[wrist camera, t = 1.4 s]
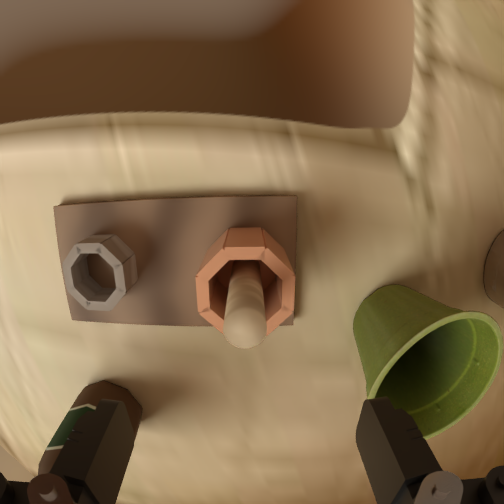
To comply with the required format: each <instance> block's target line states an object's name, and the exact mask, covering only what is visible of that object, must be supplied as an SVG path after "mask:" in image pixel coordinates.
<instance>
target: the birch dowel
mask: <svg viewBox="0 0 504 504" xmlns="http://www.w3.org/2000/svg"><path fill="white" fill-rule="evenodd" d="M223 333H224V336H225V338H226V340H227V341H228V342H229V343H230V344H231V345H233V346H235V347H238V348H242V349H248V348H253V347H255V346H257V345H259V344H260V343H261V342H262V341H263V340H264V338H265V337H266V334H267V324H266V316H265V307H264V298H263V289H262V280H261V271H260V264H259V262H258V260H234V262H233V264H232V270H231V277H230V283H229V290H228V297H227V304H226V311H225V318H224V325H223Z"/></svg>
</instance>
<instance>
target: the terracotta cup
mask: <svg viewBox="0 0 504 504" xmlns="http://www.w3.org/2000/svg"><path fill="white" fill-rule="evenodd" d="M234 260H258V262H259V264H260V271H261V280H262V289H263V298H264V307H265V316H266V324H267V334H266V336H267V335H268V334H270V333H271V332H272V331H273V330H274V329H275V328H276V327H278V326H279V325H280V324H281V323H282V322H283V321H284V320H285V319H287V318H288V317H289V316H290V315H291V314H292V313H293V312H292V311H294V296H295V274H294V272H293V269H292V267H291V264H290V262H289V259H288V257H287V255H286V252H285V250H284V248H283V247H282V246H281V245H280V244H279V243H278V242H277V241H276V240H274V239H273V238H272V237H271V236H270V235H269V234H268V233H267V232H266V231H265V230H264V229H263V228H262V229H261V227H249V228H230V230H229V229H227V230H226V231H225V232H224V233H223V234H222V235H221V236H220V237H219V238H218V240H217V241H216V242H215V243H214V244H213V245H212V246H211V247H210V248H209V249H208V250H207V252H206V254H205V256H204V259H203V261H202V263H201V265H200V268H199V270H198V272H197V274H196V277H195V279H196V293H197V306H198V312H200V313H199V314H200V315H201V316H202V317H203V318H204V319H206V320H207V321H208V322H209V323H210V324H212V325H213V326H214V327H215V328H216V329H218V330H219V331H220V332H221V333H222V334H224V333H223V325H224V318H225V311H226V304H227V297H228V290H229V283H230V277H231V270H232V264H233V262H234Z"/></svg>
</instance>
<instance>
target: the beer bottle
mask: <svg viewBox="0 0 504 504" xmlns="http://www.w3.org/2000/svg"><path fill="white" fill-rule="evenodd" d="M101 399H108V400H116V401H123V402H124V404H125V406H126V409H127V412H128V416H129V419H130V422H131V425H132V428H133V431H134V438H136V435H137V431H138V428H139V424H140V418H141V413H142V407H141V406H140V405H139V403H138V402H137V401H136V400H135V399H134V397H133V396H132V395H131V394H130V393H129V391H128V390H127V389H125V388H122V387H119V386H117V385H114V384H112V383H109V382H107V381H101V382H98V383H95V384H92V385H89V386H86V387H85V388H84V389H83V390H82V392H81V393H80V394H79V396H78V397H77V399H76V400H75V402H74V404H73V405H72V407H71V408H70V410H69V412H68V413H67V415H66V416H65V418H64V420H63V421H62V423H61V425H60V426H59V428H58V429H57V431H56V433H55V434H54V436H53V438H52V440H51V441H50V443H49V445H48V446H47V448H46V450H45V452H44V454H43V456H42V458H41V461H40V463H39V469H38V475H40V474H45V473H49V472H50V470H51V468H52V466H53V464H54V463H55V461H56V459H57V457H58V455H59V453H60V451H61V449H62V447H63V445H64V444H65V442H66V441H67V440H68V439H67V438H68V436H69V434H70V432H72V429H73V427H74V425H75V423H76V422H77V420H78V419H79V418H80V417H81V416H82V415H84V414H85V413H86V412H87V411H93V412H94V411H95V409H96V407H97V405H98V403H99V401H100V400H101ZM134 441H135V440H134Z"/></svg>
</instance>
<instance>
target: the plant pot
mask: <svg viewBox="0 0 504 504" xmlns="http://www.w3.org/2000/svg"><path fill="white" fill-rule="evenodd" d="M353 330H354V336H355V340H356V343H357V347H358V351H359V354H360V358H361V362H362V366H363V370H364V374H365V378H366V382H367V384H366V391H367V399H373V398H380V397H388V398H389V400H390V401H391V403H392V405H393V407H394V409H400V408H402V409H403V410H404V411H406V412H407V413H408V414H409V415H411V416H412V417H413V419H414V421H415V422H416V424H417V426H418V430H419V429H420V431H421V433H422V435H423V438H425V439H429V438H431V437H434V436H436V435H438V434H440V433H442V432H444V431H445V430H447V429H448V428H450V427H452V426H453V425H454V424H456V423H457V422H459V421H460V420H461V419H462V418H463V417H465V416H466V415H467V414H468V413H469V412H470V411H471V410H472V409H473V408H474V407H475V406H476V405H477V404H478V403H479V401H480V400H481V399H482V398H483V396H484V395H485V393H486V392H487V390H488V389H489V387H490V386H491V384H492V382H493V380H494V378H495V376H496V374H497V372H498V369H499V366H500V363H501V359H502V353H503V337H502V333H501V330H500V327H499V325H498V324H497V322H496V321H495V320H494V319H493V318H492V317H490V316H489V315H487V314H485V313H482V312H478V311H462V310H460V309H456V308H450V307H448V306H446V305H444V304H441V303H439V302H437V301H435V300H433V299H431V298H429V297H427V296H425V295H422V294H420V293H418V292H416V291H414V290H412V289H409V288H407V287H405V286H402V285H389V286H384V287H382V288H379V289H378V290H376V291H375V292H374V293H373V294H372V295H370V296H369V297H368V298H366V299H365V300H364V301H363V302H362V304H361V305H360V307H359V309H358V310H357V312H356V315H355V318H354V323H353Z"/></svg>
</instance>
